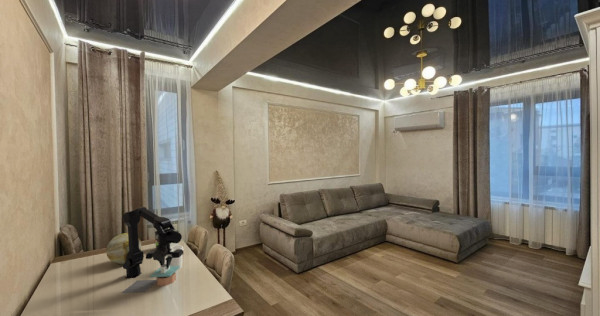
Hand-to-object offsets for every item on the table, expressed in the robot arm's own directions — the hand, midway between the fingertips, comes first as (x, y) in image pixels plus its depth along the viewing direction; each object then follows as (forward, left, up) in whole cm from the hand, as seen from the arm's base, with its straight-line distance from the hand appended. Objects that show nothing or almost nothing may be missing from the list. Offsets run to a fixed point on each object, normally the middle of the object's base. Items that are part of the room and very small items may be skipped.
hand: (165, 268), depth 142 cm
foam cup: (-3, +17, -8) cm, 19 cm away
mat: (-12, -4, -8) cm, 15 cm away
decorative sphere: (-45, +30, -8) cm, 55 cm away
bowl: (0, 0, -8) cm, 8 cm away
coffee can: (-32, +54, -8) cm, 63 cm away
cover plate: (0, 0, -2) cm, 2 cm away
